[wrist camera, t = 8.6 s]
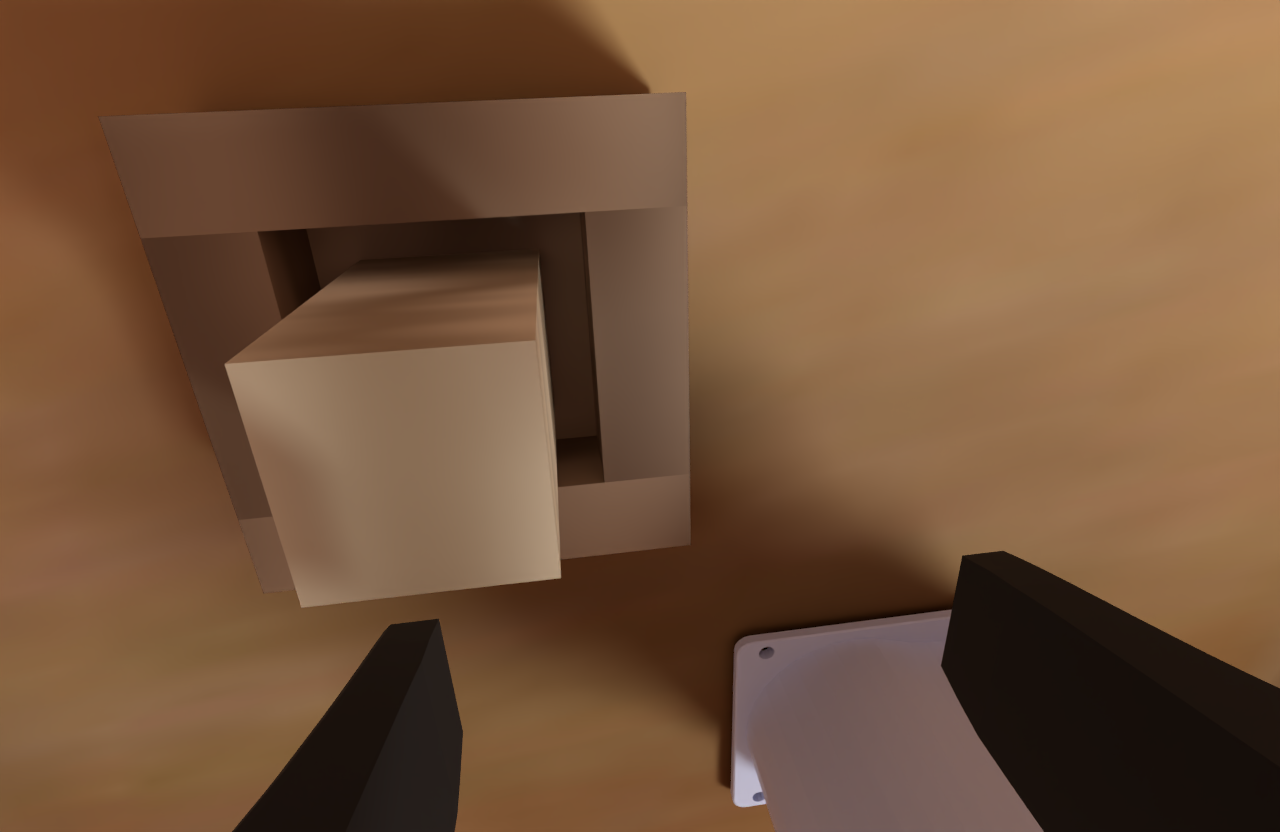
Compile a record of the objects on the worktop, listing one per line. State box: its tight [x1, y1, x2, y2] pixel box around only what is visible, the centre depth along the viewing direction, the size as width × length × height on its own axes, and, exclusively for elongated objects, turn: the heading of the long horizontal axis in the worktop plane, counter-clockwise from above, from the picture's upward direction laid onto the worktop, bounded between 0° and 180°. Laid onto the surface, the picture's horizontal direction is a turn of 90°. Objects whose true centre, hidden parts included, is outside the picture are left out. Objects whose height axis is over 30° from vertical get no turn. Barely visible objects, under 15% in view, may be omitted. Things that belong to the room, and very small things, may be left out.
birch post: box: [225, 249, 561, 608], centre depth 13 cm, size 4×4×7 cm
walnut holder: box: [98, 92, 691, 593], centre depth 15 cm, size 10×10×3 cm
